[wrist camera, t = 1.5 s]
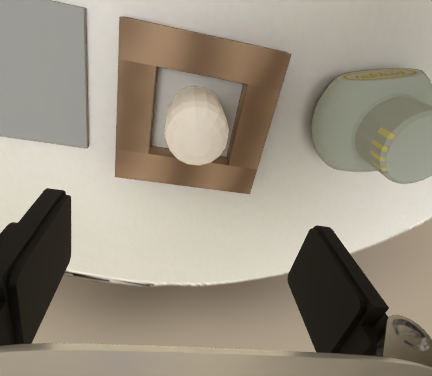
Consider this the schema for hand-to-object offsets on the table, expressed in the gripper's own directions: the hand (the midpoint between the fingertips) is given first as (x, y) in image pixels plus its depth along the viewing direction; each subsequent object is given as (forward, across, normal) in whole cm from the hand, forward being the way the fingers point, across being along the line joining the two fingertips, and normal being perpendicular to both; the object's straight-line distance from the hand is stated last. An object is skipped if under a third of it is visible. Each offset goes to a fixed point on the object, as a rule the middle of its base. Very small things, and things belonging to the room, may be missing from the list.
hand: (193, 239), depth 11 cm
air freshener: (+19, -17, -3) cm, 26 cm away
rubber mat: (+20, +15, 0) cm, 25 cm away
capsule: (+20, -1, 0) cm, 20 cm away
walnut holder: (+19, -1, 0) cm, 19 cm away
